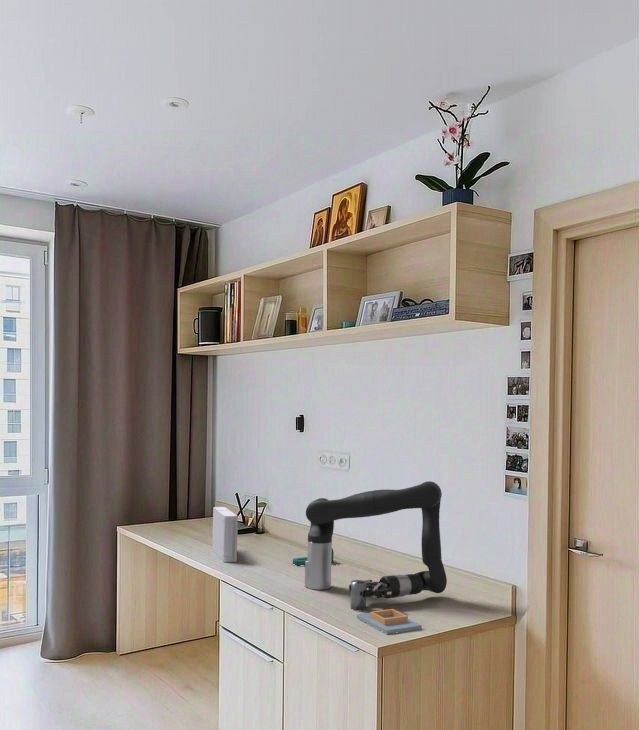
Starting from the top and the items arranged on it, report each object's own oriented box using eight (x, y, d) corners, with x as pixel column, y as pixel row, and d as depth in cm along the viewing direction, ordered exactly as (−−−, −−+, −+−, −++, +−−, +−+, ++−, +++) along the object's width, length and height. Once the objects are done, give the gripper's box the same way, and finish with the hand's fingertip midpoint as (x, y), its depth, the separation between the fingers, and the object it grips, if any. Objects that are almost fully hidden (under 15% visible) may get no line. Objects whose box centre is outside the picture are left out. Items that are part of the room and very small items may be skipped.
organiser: (356, 618, 239) (356, 608, 240) (390, 613, 245) (390, 604, 246) (386, 634, 224) (386, 624, 224) (421, 629, 230) (421, 619, 230)
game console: (223, 562, 315) (224, 516, 316) (211, 550, 341) (212, 507, 342) (236, 562, 317) (237, 515, 318) (223, 549, 343) (225, 506, 344)
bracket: (325, 560, 326) (325, 542, 326) (333, 563, 320) (333, 545, 321) (289, 564, 317) (290, 545, 317) (297, 567, 311) (297, 548, 311)
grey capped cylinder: (348, 609, 250) (348, 582, 250) (354, 605, 254) (354, 578, 255) (362, 611, 247) (362, 584, 248) (368, 607, 252) (368, 580, 252)
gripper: (384, 571, 265) (345, 575, 257) (406, 580, 252) (366, 584, 244) (384, 592, 264) (345, 596, 257) (406, 602, 252) (366, 607, 244)
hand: (355, 590), depth 251 cm, fingers open, 8 cm apart
